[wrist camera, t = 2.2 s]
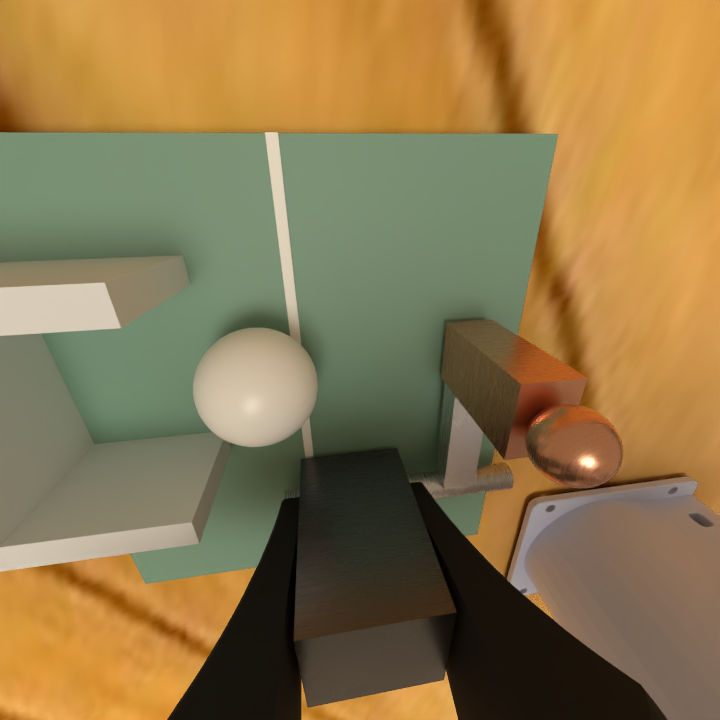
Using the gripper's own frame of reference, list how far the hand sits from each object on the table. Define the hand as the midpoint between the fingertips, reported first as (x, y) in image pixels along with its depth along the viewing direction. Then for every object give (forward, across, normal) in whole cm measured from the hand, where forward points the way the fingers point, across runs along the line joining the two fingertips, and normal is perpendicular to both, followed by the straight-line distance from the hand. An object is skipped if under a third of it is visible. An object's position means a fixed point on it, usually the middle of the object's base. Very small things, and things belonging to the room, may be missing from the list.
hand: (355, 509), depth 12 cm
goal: (+1, +7, -6) cm, 9 cm away
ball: (0, +2, -6) cm, 6 cm away
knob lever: (+1, -2, -2) cm, 3 cm away
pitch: (+2, +2, -4) cm, 5 cm away
